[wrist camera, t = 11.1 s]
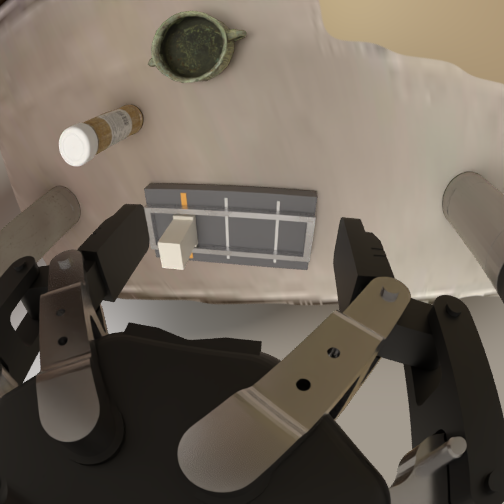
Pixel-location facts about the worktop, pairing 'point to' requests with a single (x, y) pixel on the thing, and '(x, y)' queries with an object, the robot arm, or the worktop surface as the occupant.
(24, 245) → the thermos bottle
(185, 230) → the block
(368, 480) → the robot arm
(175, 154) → the worktop surface
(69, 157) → the sprinkles bottle
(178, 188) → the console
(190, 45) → the vessel
